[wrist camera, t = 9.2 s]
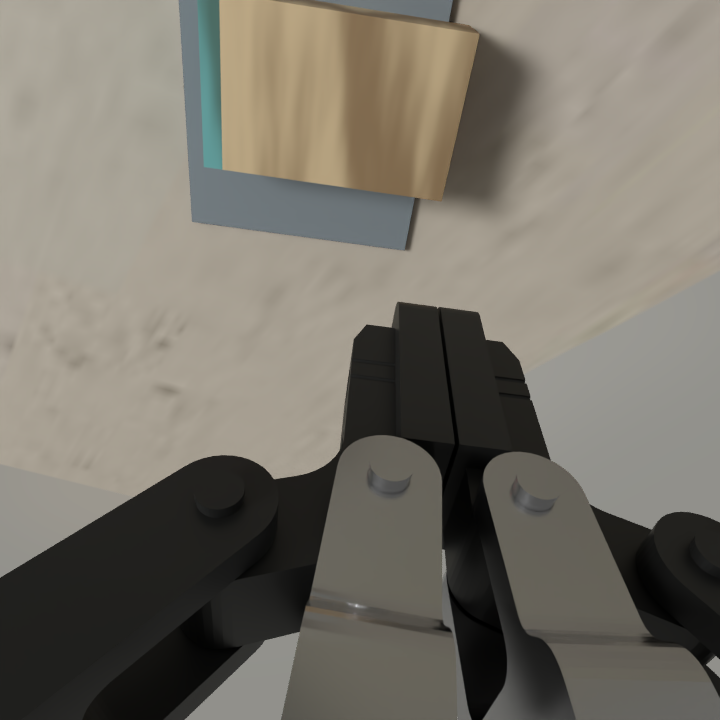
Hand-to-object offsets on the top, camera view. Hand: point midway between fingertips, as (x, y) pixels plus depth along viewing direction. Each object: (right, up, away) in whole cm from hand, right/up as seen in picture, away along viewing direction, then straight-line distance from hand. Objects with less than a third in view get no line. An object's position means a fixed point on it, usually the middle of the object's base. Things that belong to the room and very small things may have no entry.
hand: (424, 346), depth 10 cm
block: (+4, +13, +19) cm, 23 cm away
